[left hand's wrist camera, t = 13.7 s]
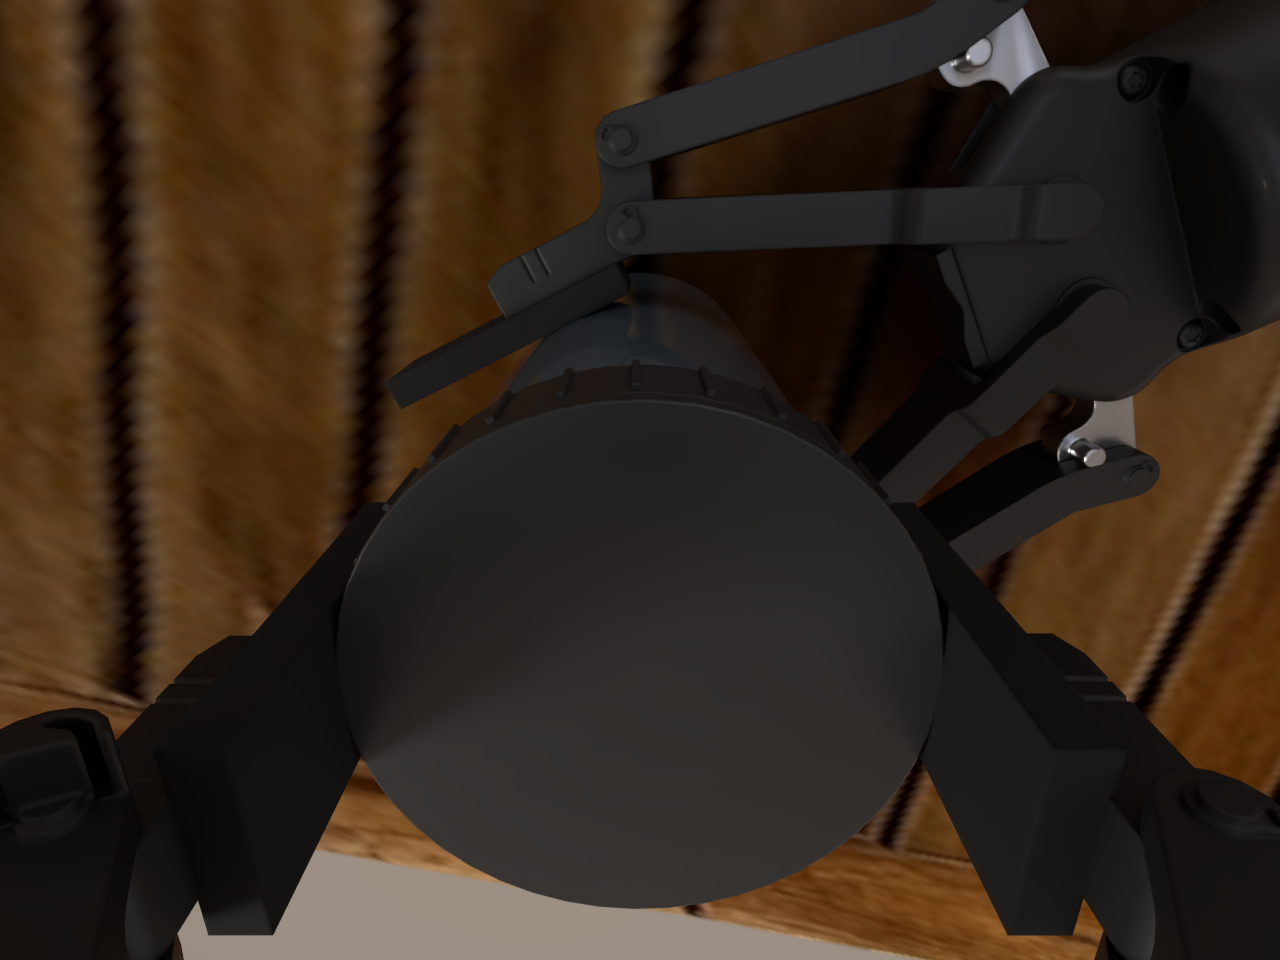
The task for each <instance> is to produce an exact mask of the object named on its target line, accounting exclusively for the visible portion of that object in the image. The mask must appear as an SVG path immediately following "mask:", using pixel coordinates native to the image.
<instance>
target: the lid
mask: <svg viewBox="0 0 1280 960" xmlns="http://www.w3.org/2000/svg"><path fill="white" fill-rule="evenodd" d="M892 503H893V501H892V499H891V498H890V497H889V496H888V494H887V493H886V492H885V491H884V489H883V488H882V487H881V486H880V484H879V483H878V482H877V481H876V480H875V478H874V477H873V476H872V475H871V473H870V472H869V471H868V470H867V468H866V467H865V466H864V465H863V464H862V462H860V463H858V464H857V465H856V464H855V463H854V462H853V460H852V459H851V458H850V457H849V455H848V454H847V453H846V452H845V450H844V449H843V448H842V446H841V445H840V444H839V443H838V441H837V440H836V439H835V438H834V436H833V435H832V434H831V432H830V431H829V430H828V429H827V427H826V426H825V425H824V423H823V422H821V421H820V420H819V419H817V421H816V422H815V423H814V422H812V421H811V420H809V419H808V418H807V417H805V416H804V415H803V414H801V413H800V412H798V411H797V410H796V409H794V408H793V407H791V406H790V405H788V404H786V403H784V402H782V401H780V400H778V399H776V398H775V397H774V395H773V394H772V392H771V391H770V389H769V388H767V387H765V386H763V387H762V389H761V390H759V389H757V388H754V387H751V386H749V385H746V384H743V383H740V382H738V381H735V380H732V379H730V378H727V377H724V376H720V375H716V374H711V373H709V372H708V369H707V367H704V366H700V367H699V371H698V370H693V369H689V368H682V367H671V366H660V365H648V364H645V365H640V360H632V365H620V366H605V367H599V368H594V369H588V370H582V371H576V372H573V368H572V367H571V368H567V369H565V371H564V374H563V375H561V376H558V377H554V378H551V379H548V380H545V381H541V382H538V383H535V384H533V385H530V386H528V387H526V388H524V389H522V390H520V391H517V392H515V393H513V394H512V392H511V391H510V389H509V390H507V391H505V392H504V393H503V394H502V396H501V397H500V399H499V400H498V401H497V402H496V403H494V404H492V405H491V406H489V407H488V408H486V409H485V410H483V411H482V412H480V413H478V414H477V415H475V416H474V417H472V418H471V419H469V420H468V421H467V422H466V423H465V424H464V425H462V426H461V427H459V426H458V425H457V424H455V425H453V426H452V427H451V428H450V430H449V431H448V432H447V433H446V435H445V436H444V437H443V439H442V440H441V441H440V442H439V444H438V445H437V446H436V447H435V449H434V450H433V451H432V453H431V454H430V455H429V456H428V458H427V461H426V462H425V464H424V465H423V466H422V467H421V468H420V469H419V470H418V469H417V468H415V467H414V468H413V470H412V471H411V472H410V473H409V475H408V476H407V477H406V478H405V480H404V481H403V482H402V483H401V485H400V486H399V487H398V488H397V490H396V491H395V492H394V493H393V494H392V496H391V497H390V498H389V499H388V501H387V502H386V503H385V505H384V506H383V507H382V509H383V510H385V511H386V513H385V514H384V515H383V517H382V518H381V520H380V521H379V523H378V524H377V526H376V528H375V529H374V531H373V532H372V534H371V535H370V537H369V539H368V540H367V542H366V543H365V545H364V546H363V548H362V550H361V552H360V553H359V554H358V556H357V557H356V558H355V561H354V564H355V566H354V568H353V570H352V573H351V575H350V577H349V580H348V582H347V585H346V589H345V593H344V597H343V601H342V605H341V609H340V612H339V616H338V626H337V638H336V650H335V654H336V660H337V667H338V673H339V679H340V684H341V690H342V696H343V701H344V707H345V713H346V718H347V723H348V727H349V729H350V732H351V735H352V737H353V740H354V742H355V745H356V747H357V750H358V751H359V753H360V755H361V757H362V758H363V760H364V762H365V764H366V765H367V767H368V769H369V771H370V773H371V774H372V776H373V778H374V779H375V780H376V782H377V783H378V784H379V786H380V787H381V788H382V790H383V791H384V792H385V794H386V795H387V796H388V797H389V799H390V800H391V801H392V803H393V804H394V805H395V806H396V807H397V808H398V809H399V810H400V811H401V812H402V813H403V814H404V815H405V816H406V817H407V818H408V819H409V820H410V821H411V822H412V823H413V824H414V825H415V826H416V827H417V828H418V829H419V830H420V831H422V832H423V833H424V834H425V835H427V836H428V837H429V838H430V839H432V840H433V841H434V842H435V843H437V844H438V845H439V846H440V847H442V848H443V849H445V850H446V851H448V852H449V853H451V854H452V855H454V856H456V857H457V858H459V859H460V860H462V861H464V862H465V863H467V864H468V865H470V866H472V867H474V868H476V869H478V870H480V871H482V872H484V873H486V874H488V875H490V876H492V877H494V878H496V879H498V880H500V881H503V882H505V883H508V884H511V885H513V886H516V887H519V888H522V889H524V890H527V891H530V892H532V893H536V894H540V895H544V896H548V897H551V898H556V899H559V900H563V901H568V902H574V903H580V904H586V905H592V906H599V907H614V908H629V909H644V908H670V907H678V906H686V905H694V904H702V903H706V902H711V901H715V900H720V899H724V898H729V897H733V896H737V895H740V894H743V893H746V892H749V891H752V890H755V889H758V888H761V887H764V886H767V885H769V884H772V883H774V882H776V881H778V880H781V879H783V878H785V877H787V876H790V875H792V874H794V873H796V872H798V871H800V870H802V869H804V868H805V867H807V866H809V865H811V864H812V863H814V862H816V861H817V860H819V859H821V858H823V857H824V856H826V855H828V854H829V853H830V852H832V851H833V850H835V849H836V848H837V847H839V846H840V845H841V844H843V843H844V842H845V841H847V840H848V839H849V838H851V837H852V836H854V835H855V834H856V833H857V832H858V831H859V830H860V829H861V828H862V827H863V826H864V825H865V824H866V823H868V822H869V821H870V820H871V819H872V818H873V817H874V816H875V815H876V814H877V813H878V812H879V811H880V810H881V809H882V807H883V806H884V805H885V804H886V803H887V801H888V800H889V799H890V798H891V797H892V795H893V794H894V793H895V792H896V791H897V790H898V788H899V787H900V786H901V784H902V782H903V781H904V779H905V778H906V776H907V775H908V773H909V771H910V770H911V768H912V767H913V765H914V763H915V762H916V760H917V759H918V756H919V754H920V752H921V750H922V747H923V745H924V743H925V741H926V739H927V736H928V734H929V732H930V730H931V727H932V723H933V719H934V714H935V709H936V704H937V699H938V693H939V688H940V682H941V676H942V670H943V663H944V642H943V626H942V621H941V616H940V611H939V605H938V600H937V595H936V593H935V590H934V587H933V584H932V582H931V579H930V576H929V573H928V570H927V568H926V565H925V562H924V560H923V559H922V558H923V554H922V552H921V550H920V549H919V548H918V547H917V545H916V544H915V543H914V541H913V540H912V539H911V537H910V535H909V533H908V531H907V530H906V528H905V527H904V526H903V525H902V523H901V522H900V521H899V519H898V518H897V517H896V516H895V514H894V513H893V512H892V510H891V509H890V508H889V505H891V504H892Z"/></svg>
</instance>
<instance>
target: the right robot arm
mask: <svg viewBox="0 0 1280 960" xmlns="http://www.w3.org/2000/svg"><path fill="white" fill-rule="evenodd" d="M1027 2H1028V0H930V1H929V2H928V3H927V4H925V5H924V6H923V7H921V8H920V9H919V10H917V11H916V12H915V13H914V14H912V15H911V16H908V17H905V18H902V19H899V20H896V21H893V22H890V23H886V24H883V25H880V26H877V27H874V28H871V29H868V30H865V31H862V32H858V33H855V34H852V35H849V36H846V37H843V38H840V39H837V40H833V41H830V42H827V43H824V44H821V45H818V46H815V47H812V48H809V49H805V50H802V51H799V52H796V53H793V54H790V55H787V56H784V57H780V58H777V59H774V60H771V61H768V62H765V63H762V64H759V65H756V66H752V67H749V68H746V69H743V70H740V71H737V72H734V73H731V74H727V75H724V76H721V77H718V78H715V79H712V80H709V81H706V82H703V83H699V84H696V85H693V86H690V87H687V88H684V89H681V90H678V91H674V92H671V93H668V94H665V95H662V96H659V97H656V98H653V99H650V100H646V101H643V102H640V103H637V104H634V105H631V106H628V107H625V108H621V109H618V110H615V111H613V112H611V113H609V114H608V115H606V116H604V118H603V119H602V120H601V122H600V123H599V124H598V126H597V130H596V134H595V143H596V149H597V155H598V163H599V171H600V180H601V199H600V204H599V206H598V208H597V210H596V212H595V213H594V214H593V215H592V216H591V218H589V219H588V220H587V221H585V222H583V223H581V224H579V225H578V226H576V227H574V228H572V229H570V230H568V231H566V232H564V233H562V234H561V235H559V236H557V237H555V238H553V239H551V240H549V241H547V242H545V243H544V244H542V245H540V246H538V247H536V248H534V249H532V250H530V251H528V252H527V253H525V254H523V255H521V256H519V257H517V258H515V259H513V260H511V261H510V262H508V263H506V264H504V265H502V266H501V267H499V269H498V270H497V271H496V272H495V274H494V275H493V276H492V277H491V279H490V280H489V281H488V282H487V286H488V287H489V289H490V291H491V293H492V295H493V297H494V298H495V300H496V302H497V304H498V306H499V307H500V309H501V311H502V313H503V315H501V316H499V317H497V318H495V319H493V320H491V321H489V322H488V323H486V324H484V325H482V326H480V327H478V328H476V329H474V330H472V331H470V332H468V333H466V334H464V335H462V336H460V337H459V338H457V339H455V340H453V341H451V342H449V343H447V344H445V345H443V346H441V347H439V348H437V349H435V350H433V351H431V352H430V353H428V354H426V355H424V356H422V357H420V358H418V359H416V360H414V361H413V362H412V363H410V364H409V365H408V366H407V367H405V368H404V369H403V370H401V371H400V372H399V373H397V374H396V375H395V376H394V377H392V378H391V379H390V380H388V381H387V382H386V383H385V384H386V386H387V387H388V389H389V390H390V392H391V394H392V395H393V397H394V398H395V400H396V401H397V403H398V405H399V406H400V408H401V409H402V408H404V407H406V406H408V405H410V404H412V403H414V402H416V401H418V400H420V399H422V398H424V397H426V396H428V395H430V394H432V393H434V392H436V391H438V390H440V389H442V388H444V387H446V386H448V385H450V384H452V383H454V382H456V381H458V380H460V379H462V378H464V377H466V376H468V375H469V374H471V373H473V372H475V371H477V370H479V369H481V368H483V367H485V366H487V365H489V364H491V363H493V362H495V361H497V360H499V359H501V358H503V357H505V356H507V355H509V354H511V353H513V352H515V351H517V350H519V349H521V348H523V347H525V346H527V345H529V344H531V343H533V342H535V341H537V340H539V339H541V338H543V337H545V336H547V335H548V334H550V333H552V332H554V331H556V330H558V329H560V328H562V327H564V326H566V325H568V324H570V323H572V322H574V321H576V320H578V319H580V318H582V317H584V316H586V315H588V314H590V313H592V312H594V311H596V310H598V309H600V308H602V307H604V306H606V305H608V304H610V303H612V302H614V301H616V300H618V299H620V298H622V297H624V296H626V295H628V294H629V293H630V290H631V278H630V276H629V274H628V272H627V270H626V268H625V266H624V264H623V262H622V261H623V260H625V259H627V258H629V257H631V256H633V255H646V254H669V253H693V252H717V251H740V250H764V249H788V248H811V247H835V246H859V245H882V244H902V245H914V246H912V247H910V248H908V251H909V254H910V257H911V260H912V263H913V266H914V268H915V271H916V274H917V276H918V277H919V279H920V280H921V282H922V283H923V284H924V286H925V287H926V289H927V290H928V291H929V293H930V294H931V296H932V297H933V300H934V315H935V329H936V332H937V335H938V338H939V340H940V343H941V346H942V349H943V353H942V354H941V355H940V356H939V357H938V358H937V360H936V361H935V362H934V363H933V364H932V365H931V366H930V367H929V368H928V369H927V370H926V371H925V372H924V373H923V375H922V377H921V379H920V383H919V387H918V388H917V390H916V391H915V392H914V393H913V394H912V395H911V396H910V397H909V398H908V399H907V400H906V401H905V402H904V403H903V404H902V405H901V406H900V407H899V408H898V409H897V410H896V411H895V412H894V413H893V414H892V415H891V416H890V417H889V418H888V419H887V420H886V421H885V422H884V423H883V424H882V425H881V426H880V427H879V429H878V430H877V431H876V432H875V433H874V434H873V435H872V436H871V437H870V438H869V439H868V440H867V441H866V442H865V443H864V444H863V445H862V446H861V447H860V448H859V449H858V450H857V451H856V452H855V453H854V454H853V455H852V456H851V457H850V458H851V459H852V460H853V462H854V463H855V464H856V465H857V464H858V463H860V462H862V464H863V465H864V466H865V467H866V468H867V470H868V471H869V472H870V473H871V475H872V476H873V477H874V478H875V480H876V481H877V482H878V483H879V484H880V486H881V487H882V488H883V489H884V491H885V492H886V493H887V494H888V496H889V497H890V498H891V499H892V501H893V502H913V503H914V504H915V503H916V502H917V501H919V500H920V499H921V498H922V497H923V496H924V495H925V494H926V493H927V492H928V491H929V490H930V489H931V488H932V487H933V486H934V485H935V484H936V483H937V482H938V481H940V480H941V479H942V478H943V477H944V476H945V475H946V474H947V473H948V472H949V471H950V470H951V469H952V468H953V467H954V466H955V465H956V464H957V463H958V462H959V461H961V460H962V459H963V458H964V457H965V456H966V455H967V454H968V453H969V452H970V451H971V450H972V449H973V448H974V447H975V446H976V445H977V444H979V443H980V442H981V441H983V440H985V439H990V438H995V437H997V436H999V435H1001V434H1003V433H1004V432H1005V431H1007V430H1008V429H1009V428H1010V427H1011V426H1012V425H1013V424H1014V423H1016V422H1017V421H1018V420H1019V419H1020V418H1021V417H1022V416H1023V415H1024V414H1025V413H1026V412H1027V411H1028V410H1029V409H1030V408H1031V407H1032V406H1034V405H1035V404H1036V403H1037V402H1038V401H1039V400H1040V399H1041V398H1042V397H1043V396H1044V395H1045V394H1046V393H1051V394H1057V395H1063V396H1069V397H1075V398H1076V402H1075V405H1074V407H1073V409H1072V410H1071V411H1070V413H1069V414H1067V415H1066V416H1065V417H1064V418H1062V419H1060V420H1058V421H1056V422H1049V423H1046V424H1045V425H1044V426H1043V427H1042V428H1041V430H1040V436H1041V438H1042V440H1039V441H1036V442H1033V443H1029V444H1027V445H1024V446H1022V447H1020V448H1018V449H1015V450H1013V451H1011V452H1009V453H1007V454H1006V455H1004V456H1002V457H1000V458H998V459H997V460H995V461H993V462H992V463H990V464H989V465H987V466H985V467H984V468H982V469H981V470H979V471H977V472H976V473H974V474H972V475H971V476H969V477H968V478H966V479H964V480H963V481H961V482H960V483H958V484H956V485H955V486H953V487H951V488H950V489H948V490H947V491H945V492H943V493H942V494H940V495H938V496H937V497H935V498H934V499H932V500H930V501H929V502H927V503H926V504H924V505H922V506H921V507H919V508H918V509H919V510H920V511H921V512H922V513H923V514H924V516H925V517H926V518H927V519H928V520H929V521H930V523H931V524H932V525H933V526H934V527H935V528H936V529H937V531H938V532H939V533H940V534H941V535H942V536H943V538H944V539H945V540H946V541H947V542H948V543H949V544H950V546H951V547H952V548H953V549H954V550H955V551H956V553H957V554H958V555H959V556H960V557H961V558H962V559H963V561H964V562H965V563H966V564H967V565H968V566H969V568H970V569H971V570H972V571H975V570H976V569H978V568H980V567H982V566H983V565H985V564H987V563H988V562H990V561H992V560H994V559H995V558H997V557H999V556H1000V555H1002V554H1004V553H1005V552H1007V551H1009V550H1011V549H1012V548H1014V547H1016V546H1017V545H1019V544H1021V543H1023V542H1024V541H1026V540H1028V539H1029V538H1031V537H1033V536H1034V535H1036V534H1038V533H1040V532H1041V531H1043V530H1045V529H1046V528H1048V527H1050V526H1051V525H1053V524H1055V523H1057V522H1058V521H1060V520H1062V519H1063V518H1065V517H1067V516H1069V515H1070V514H1072V513H1074V512H1076V511H1080V510H1084V509H1088V508H1092V507H1096V506H1100V505H1104V504H1108V503H1112V502H1116V501H1119V500H1123V499H1127V498H1131V497H1135V496H1138V495H1141V494H1143V493H1145V492H1147V491H1148V490H1150V489H1151V488H1152V487H1153V486H1154V485H1155V483H1156V481H1157V480H1158V478H1159V473H1160V468H1159V465H1158V462H1157V461H1156V460H1155V459H1154V458H1153V457H1151V456H1149V455H1148V454H1146V453H1144V452H1142V451H1140V450H1138V449H1137V448H1136V443H1135V425H1134V407H1133V395H1135V394H1136V393H1138V392H1139V391H1141V390H1142V389H1143V388H1145V387H1146V386H1147V385H1148V384H1149V383H1150V382H1151V381H1152V380H1153V379H1154V378H1155V377H1156V376H1157V374H1158V373H1160V372H1161V371H1162V370H1163V369H1164V368H1165V367H1166V366H1167V365H1169V364H1170V363H1171V362H1173V361H1174V360H1175V359H1177V358H1178V357H1180V356H1182V355H1184V354H1186V353H1188V352H1191V351H1194V350H1197V349H1200V348H1203V347H1207V346H1210V345H1214V344H1217V343H1221V342H1224V341H1227V340H1230V339H1233V338H1236V337H1239V336H1242V335H1245V334H1247V333H1250V332H1252V331H1254V330H1257V329H1259V328H1261V327H1263V326H1266V325H1268V324H1270V323H1273V322H1275V321H1277V320H1280V0H1219V1H1217V2H1215V3H1213V4H1211V5H1209V6H1207V7H1205V8H1203V9H1201V10H1199V11H1197V12H1195V13H1193V14H1191V15H1189V16H1187V17H1185V18H1183V19H1181V20H1179V21H1177V22H1175V23H1173V24H1171V25H1169V26H1167V27H1165V28H1163V29H1161V30H1159V31H1157V32H1155V33H1153V34H1151V35H1149V36H1147V37H1145V38H1143V39H1142V40H1140V41H1138V42H1136V43H1134V44H1132V45H1130V46H1128V47H1126V48H1124V49H1122V50H1120V51H1118V52H1116V53H1114V54H1112V55H1110V56H1108V57H1106V58H1104V59H1102V60H1100V61H1098V62H1096V63H1094V64H1091V65H1089V66H1070V65H1056V66H1051V67H1050V66H1049V64H1048V62H1047V60H1046V58H1045V55H1044V53H1043V51H1042V49H1041V47H1040V45H1039V42H1038V40H1037V38H1036V36H1035V34H1034V32H1033V29H1032V27H1031V25H1030V23H1029V21H1028V19H1027V17H1026V14H1025V12H1024V10H1023V8H1022V7H1023V6H1024V5H1025V4H1026V3H1027ZM923 74H925V75H926V77H927V79H928V81H929V82H930V84H931V85H932V86H933V87H934V88H936V89H937V90H940V91H943V92H950V91H955V90H958V89H961V88H964V87H968V86H970V85H976V86H980V87H982V88H984V89H985V90H987V91H988V92H989V94H990V95H991V97H992V100H991V101H990V103H989V104H988V106H987V107H986V109H985V110H984V112H983V114H982V115H981V117H980V118H979V120H978V122H977V123H976V125H975V127H974V128H973V130H972V131H971V133H970V135H969V136H968V138H967V139H966V141H965V143H964V144H963V146H962V147H961V149H960V151H959V152H958V154H957V155H956V157H955V159H954V160H953V162H952V163H951V165H950V167H949V168H948V170H947V171H946V173H945V175H944V176H943V178H942V179H941V181H940V182H939V184H938V186H929V187H906V188H883V189H865V190H842V191H819V192H796V193H773V194H750V195H727V196H704V197H680V198H657V199H654V198H653V187H652V177H651V166H650V163H653V162H657V161H660V160H663V159H666V158H669V157H673V156H676V155H679V154H682V153H685V152H689V151H692V150H695V149H698V148H701V147H705V146H708V145H711V144H714V143H717V142H721V141H724V140H727V139H730V138H733V137H737V136H740V135H743V134H746V133H750V132H753V131H756V130H759V129H762V128H766V127H769V126H772V125H775V124H778V123H782V122H785V121H788V120H791V119H794V118H798V117H801V116H804V115H807V114H810V113H814V112H817V111H820V110H823V109H826V108H830V107H833V106H836V105H839V104H843V103H846V102H849V101H852V100H855V99H859V98H862V97H865V96H868V95H871V94H875V93H877V92H880V91H883V90H885V89H888V88H891V87H893V86H896V85H898V84H901V83H903V82H906V81H908V80H911V79H913V78H916V77H918V76H921V75H923ZM982 379H983V380H982ZM980 380H982V381H981V382H979V381H980Z"/></svg>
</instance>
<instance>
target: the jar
mask: <svg viewBox="0 0 1280 960" xmlns="http://www.w3.org/2000/svg"><path fill="white" fill-rule="evenodd" d="M628 274H629V276H630V278H631V290H630V293H629V294H628V295H626V296H624V297H622V298H620V299H618V300H616V301H614V302H612V303H610V304H608V305H606V306H604V307H602V308H600V309H598V310H596V311H594V312H592V313H590V314H588V315H586V316H584V317H582V318H580V319H578V320H576V321H574V322H572V323H570V324H568V325H566V326H564V327H562V328H560V329H558V330H556V331H554V332H552V333H550V334H548V335H547V336H545V337H543V338H541V339H539V340H537V341H535V342H533V343H531V345H530V346H529V348H528V349H527V350H526V352H525V353H524V355H523V356H522V358H521V359H520V360H519V362H518V363H517V365H516V366H515V368H514V369H513V371H512V372H511V373H510V375H509V376H508V378H507V379H506V381H505V382H504V383H503V385H502V386H501V388H500V389H499V391H498V392H497V394H496V395H495V396H494V398H493V399H492V401H491V402H490V404H489V405H488V406H487V408H488V407H489V406H491V405H492V404H494V403H496V402H497V401H498V400H499V399H500V397H501V396H502V394H503V393H504V392H505V391H507V390H509V389H510V391H511V392H512V394H513V393H515V392H517V391H520V390H522V389H524V388H526V387H528V386H530V385H533V384H535V383H538V382H541V381H545V380H548V379H551V378H554V377H558V376H561V375H563V374H564V371H565V369H567V368H571V367H572V368H573V372H576V371H582V370H588V369H594V368H599V367H605V366H620V365H632V360H640V365H645V364H648V365H660V366H671V367H682V368H689V369H693V370H698V371H699V367H700V366H704V367H707V369H708V372H709V373H711V374H716V375H720V376H724V377H727V378H730V379H732V380H735V381H738V382H740V383H743V384H746V385H749V386H751V387H754V388H757V389H759V390H761V389H762V387H763V386H765V387H767V388H769V389H770V391H771V392H772V394H773V395H774V397H775V398H776V399H778V400H780V401H782V402H784V403H786V404H788V405H790V406H791V407H792V405H791V404H790V403H789V401H788V400H787V398H786V397H785V395H784V394H783V392H782V391H781V390H780V388H779V387H778V385H777V384H776V382H775V381H774V380H773V378H772V377H771V375H770V374H769V372H768V371H767V370H766V368H765V367H764V365H763V364H762V362H761V361H760V360H759V358H758V357H757V355H756V354H755V352H754V351H753V350H752V348H751V347H750V345H749V344H748V342H747V341H746V340H745V338H744V337H743V335H742V334H741V332H740V331H739V330H738V328H737V327H736V325H735V324H734V322H733V321H732V320H731V318H730V317H729V316H728V315H727V313H726V312H725V311H724V310H723V309H722V308H721V307H720V306H719V305H718V304H717V303H716V302H715V301H714V300H713V299H712V298H710V297H709V296H708V295H706V294H705V293H704V292H702V291H701V290H699V289H697V288H695V287H694V286H692V285H690V284H688V283H686V282H683V281H681V280H678V279H675V278H672V277H668V276H664V275H660V274H651V273H628Z"/></svg>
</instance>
